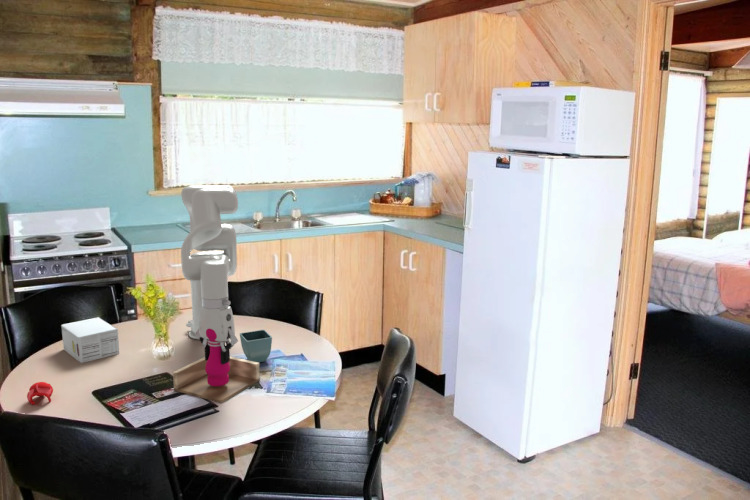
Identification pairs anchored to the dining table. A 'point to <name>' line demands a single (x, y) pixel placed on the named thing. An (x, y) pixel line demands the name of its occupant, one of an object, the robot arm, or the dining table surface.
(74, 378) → the dining table surface
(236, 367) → the corner fence
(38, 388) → the red curved piece
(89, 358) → the supplement box
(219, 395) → the board
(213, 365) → the pepper mill
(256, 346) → the flower pot
